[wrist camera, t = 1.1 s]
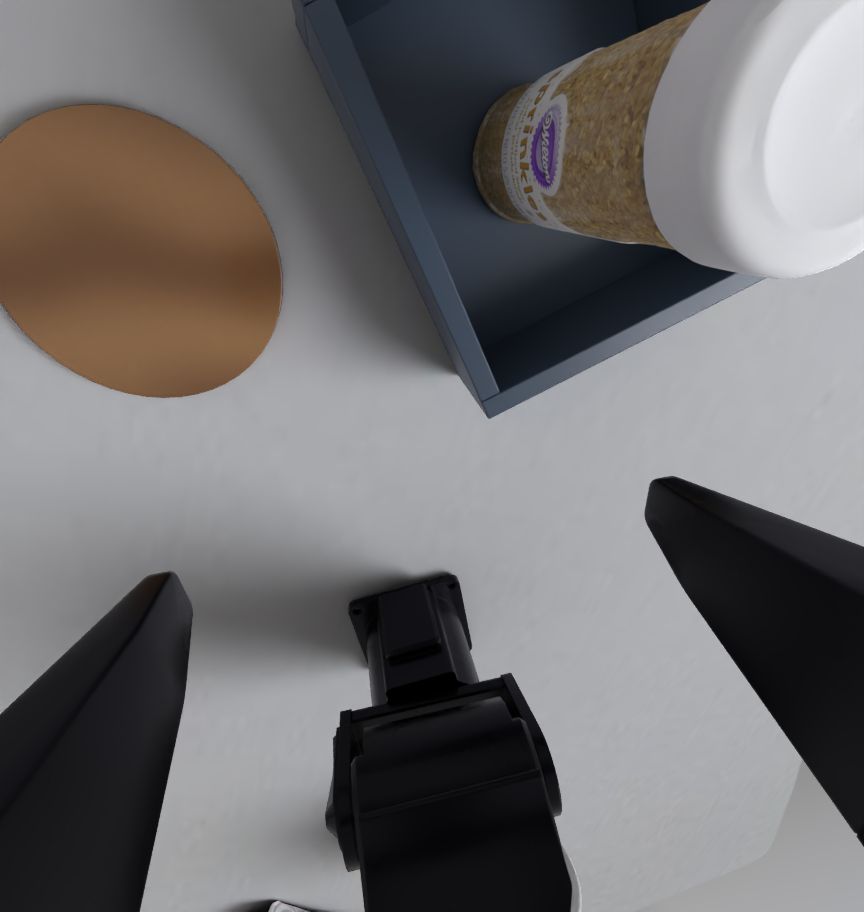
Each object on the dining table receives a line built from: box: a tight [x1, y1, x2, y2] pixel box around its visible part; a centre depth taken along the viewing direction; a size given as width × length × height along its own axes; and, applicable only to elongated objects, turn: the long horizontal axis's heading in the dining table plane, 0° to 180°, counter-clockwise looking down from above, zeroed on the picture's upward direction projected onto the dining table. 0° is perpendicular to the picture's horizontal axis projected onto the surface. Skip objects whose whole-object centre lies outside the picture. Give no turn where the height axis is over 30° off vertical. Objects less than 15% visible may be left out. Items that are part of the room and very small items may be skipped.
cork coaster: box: [0, 104, 283, 398], centre depth 18 cm, size 10×10×1 cm
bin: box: [292, 0, 767, 419], centre depth 17 cm, size 14×12×5 cm
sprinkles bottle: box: [472, 0, 864, 279], centre depth 13 cm, size 5×5×13 cm
